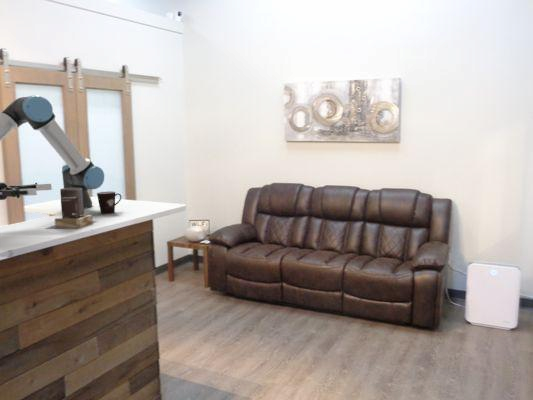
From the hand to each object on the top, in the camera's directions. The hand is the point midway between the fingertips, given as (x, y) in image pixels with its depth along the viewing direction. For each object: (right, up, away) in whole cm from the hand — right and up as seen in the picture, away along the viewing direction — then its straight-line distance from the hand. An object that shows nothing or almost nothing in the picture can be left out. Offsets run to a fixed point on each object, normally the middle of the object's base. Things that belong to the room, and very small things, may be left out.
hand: (43, 189), depth 213 cm
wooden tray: (+12, -15, +2) cm, 20 cm away
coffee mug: (+18, -11, +33) cm, 40 cm away
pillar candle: (+4, -13, +23) cm, 27 cm away
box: (+11, -16, +2) cm, 19 cm away
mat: (+11, -16, +3) cm, 19 cm away
